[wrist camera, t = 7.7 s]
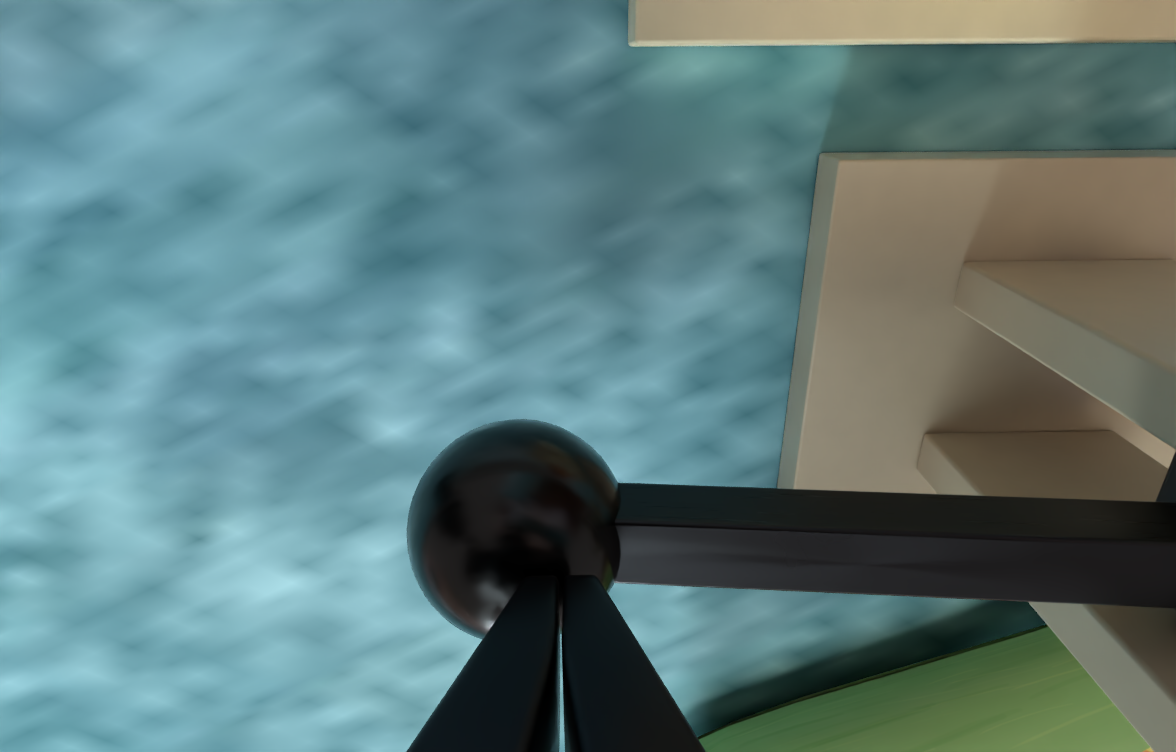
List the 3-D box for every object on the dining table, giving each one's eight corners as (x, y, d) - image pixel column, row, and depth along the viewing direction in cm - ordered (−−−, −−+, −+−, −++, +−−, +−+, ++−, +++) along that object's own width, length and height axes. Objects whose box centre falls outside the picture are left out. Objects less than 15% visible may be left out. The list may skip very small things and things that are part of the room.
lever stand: (773, 511, 18) (950, 911, 10) (818, 152, 14) (1176, 283, 6) (1150, 505, 18) (1655, 892, 10) (1294, 147, 14) (2321, 271, 6)
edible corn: (605, 739, 21) (613, 901, 17) (1289, 478, 18) (1506, 605, 14) (675, 830, 23) (697, 995, 19) (1305, 612, 20) (1500, 758, 16)
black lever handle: (450, 542, 12) (390, 689, 9) (431, 381, 11) (356, 494, 8) (1281, 577, 11) (1499, 752, 8) (1371, 404, 10) (1666, 544, 7)
